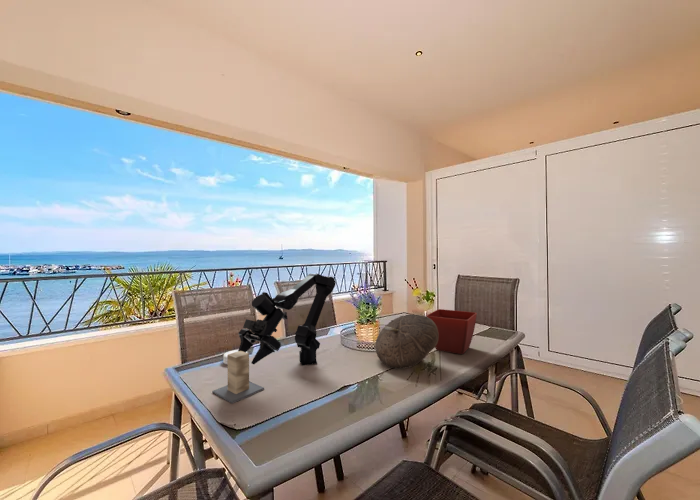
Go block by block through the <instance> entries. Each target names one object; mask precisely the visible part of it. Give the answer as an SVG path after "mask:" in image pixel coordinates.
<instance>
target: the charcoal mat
mask: <svg viewBox="0 0 700 500" xmlns="http://www.w3.org/2000/svg"><path fill="white" fill-rule="evenodd" d="M264 390H265V388H264V386H261V385H259V384H256V383H254V382H253V381H250V380H249V389H247V390H245V391H242V392H240V393H238V394H235V393H233V392H231V391H229V390H228V384H227V385H224V386H221V387H219V388H216V389H214V390H212V393H213V394H214V395H216V396H218V397H219V398H221V399H222V400H225V401H226V402H229V404H230V403H231V404H234V403H236V402H238V401H241V400H244V399H245V398H248V397H250V396H253V395H255V394H257V393H259V392H261V391H264Z"/></svg>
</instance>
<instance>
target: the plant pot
mask: <svg viewBox="0 0 700 500" xmlns="http://www.w3.org/2000/svg"><path fill="white" fill-rule="evenodd" d="M477 315H478V313H477V312H472V311H463V310H453V309H445V308H443V309H442V308H441V309H440V308H439V309H436V310H434V311H432V312H431V313H429V314H427V315H426V317H428V318H430V319H431V320H433V322H434V323H435V324H436V326H437V329H438V335H439V338H438V343H437V345H436V346H435V348H434V349H435V350H436V351H441V352H446V353H447V352H448V353H452V354H458V355H463V354H465V353H466V352H467V351H468V349H469V348H470V347H471V343H472V340H473V335H474V332H475V327H476V322H477Z"/></svg>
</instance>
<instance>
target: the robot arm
mask: <svg viewBox="0 0 700 500" xmlns="http://www.w3.org/2000/svg"><path fill="white" fill-rule="evenodd" d="M336 283H337V282H336V280H335V278H334V277H333V276H325V275H321V274H319V273H312V272H311V273H308V274H307V276H306V277H305V278H303V279H302V280H300V281H299V282H297V284H295V285H294V286H293V287H291V288H290V289H289V290H288V289H287V290H284V291H282V292H280V293H278V294H276V295H275V297H273V298H272V297H271V296H270V295H269V293H268V292H266V291H265V292H264V291H263V292H262V293H261V294H259V295H257V296H255V298H253V300H252V302H251V306H252V307H253V308H254V309H255V310H256V311H257V312H258V313H259V314H260V315H261V316H264V318H263V319H256V321H255V320H251V319H247V318H246V319H245V321H244V324H243V326H242V328H241V329H240V330H239V332H238V333H237V334H238V338H239V339H240V344H239V348H238V349H237V350H238V351H243V352H248V351H249V350H250V349H251V348H252V347H253V346H254V343H256V342H258V343H259V348H258V350H257V352H256V353H255V355H254V357H253V359H252V361H251V364H252V365H255V364H257V363H259V362H260V361H261V360H263V359H264V358H266V357H267V356H269V355H271V354H273V353H275V352H279V350H280V349H281V347H282V345H281V343H282V342H280V340H278V338H277V337H275V336H274V335H273V333H277V332H278V329H277V327H278V326H279V324H280V323H281V322H282V320H288V314H287V312H286V311H287V310H288V311H290V310H292V309H293V308H294V307H295V306H296V304H297V303H298V300H299V298H300V297H302V296H303V295H304V294H305V293H307V292H308V290H310V289H311V288H312V287H313V286H314V285H315V291H316V293H315V296H314V299H313V301H312V303H311V306H310V309H309V311H308V313H307V316H306V319H305V321H304V323H303V324H301V325H298V326H297V328H296V331H295V333H294V335H295V336H294V340H295V341H294V342H295V343H296V347H297V348H300V351H298V352H299V355H298V357H299V363H300V364H301V366H309V365H316V364H318V361H317V350H319V349H320V345H321V342H320V341H318V339H317V328H316V327H317V324H318V322H319V319H320V316H321V313H322V310H323V308H324V305H325V302H326V300H327V297H328V296H329V295H330V294H331V293H333V290H334V289H335V287H336ZM283 310H286V311H283Z"/></svg>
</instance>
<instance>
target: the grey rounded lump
mask: <svg viewBox="0 0 700 500" xmlns="http://www.w3.org/2000/svg"><path fill="white" fill-rule="evenodd" d="M438 338H439V335H438V329H437V326H436V324H435V323H434V322H433V320H431V319H430V318H428V317H427V315H426V316H425V315H420V314H405V315H400V316H397V317H395V318H394V319H391V320H390V322H388V323H387V324H385V325H384V326H383V328H382V329H381V330H380V332H379V333H378V336H377V337H376V340H375V353H376V354H377V355H376V356H377V358H378V360H380V362H381V363H383V364H384V365H385V366H387V367H389V368H392V369H407V368H411V367H414V366H416V365H417V364H419V363H420V362H422V361H423V360H424V359H425V358H426V356H427V355H428V354H429V353H431V352H432V350H434V349H436V348H435V346H436V345H437V343H438Z"/></svg>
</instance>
